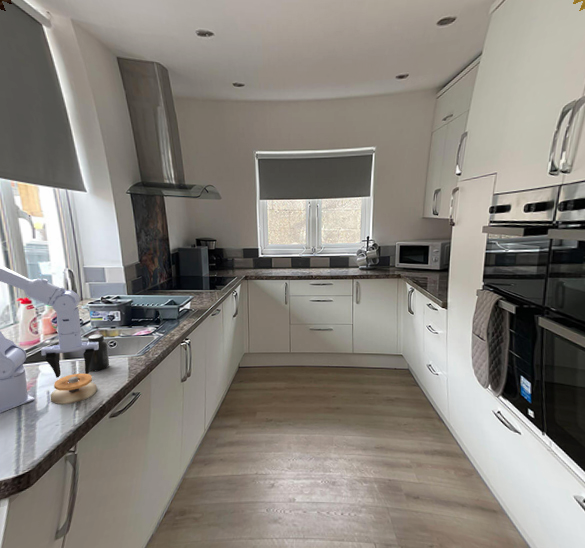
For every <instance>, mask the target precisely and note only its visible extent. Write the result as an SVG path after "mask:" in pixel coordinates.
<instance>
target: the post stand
mask: <svg viewBox="0 0 585 548" xmlns="http://www.w3.org/2000/svg"><path fill="white" fill-rule="evenodd" d="M78 381H79V380H78V377H71V378H69V382H68V383H75V382H78ZM97 390H98V386H97V384H95V382H93V381H91V382H90V383H89V384H88V385H86V386H83V387H81V388H78V389H73V390H68V391H67V390H57V389H55V390H54V391H52V393H51V394H50V401H51V402H52V403H54V404H57V405H68V404H74V403H78V402H81V401H84V400H87V399H89V398H91V397H92V396H94V395H95V394H96V393H97Z"/></svg>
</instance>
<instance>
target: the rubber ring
mask: <svg viewBox="0 0 585 548" xmlns="http://www.w3.org/2000/svg"><path fill="white" fill-rule="evenodd" d="M71 377H78V382H75V383H69V378H71ZM92 378H93V377H92V375H91V374H89V373H88V374H86V373H74V374H69V375H66V376H64V377H59V378H58V379H57V380H56V381H54V383H53V384H54V385H53V387H54V389H55V390H56V389H57V390H67V391H68V390H73V389H78V388H81V387H83V386H86V385H88V384H89V383H90V382H93V381H92V380H93V379H92Z"/></svg>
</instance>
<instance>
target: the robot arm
mask: <svg viewBox="0 0 585 548" xmlns="http://www.w3.org/2000/svg"><path fill="white" fill-rule="evenodd" d="M0 282H1V283H4V284H5V285H6V284H7V285H10V286H12V287H15V288H17V289H19V290H22V291H24V294H25V296H26V297H28V298H29V299H33V300H34V301H37V302H40V303H43V304H45V305H47V306H49V307H52V309H53V310H54V311H55V312H56V313H55V314H56V326H57V327H56V328H57V337H58V338H57V339H58V344H57V345H56V344H54V345H50V346H43V347H42V348H41V349H40V352H41V354H40V355H41V356H45V357H44V359H45V361H46V362H47V364H48V365H49V366H50V367H51V369H52V371H53V372H54V376H55V377H56V378H58V379H59V378H60V376H61V365H60V354H63V353H73V352H82V351H84V353H83V359H84V371H85V373H84V374H89V373H90V370H89V369H90V363H91V359H92V356H93V354H94V351H95V350H98V348H99V343H98V342H88V341H82V333H81V331H82V330H81V320H80V318H81V317H80V314H79V313H80V312H79V306H78V305H79V304H80V302H81V301H80V300H81V297H80V296H79V294H78V293H77V292H75V291H74V290H73V289H66V287H62V286H61V287H60V286H57V285H55V284H52V283H50V282H49V280H48V279H46V278H42V279H41V278H35V279H31V278H28V277H26V276H24V275H22V274H20V273H18V272H16V271H14V270H12V269H9V268H7V267H6V266H3V265H2V264H0ZM27 356H28V355H27V352H26V350H25V349H24V348H22V347H20V346H18V345H17V344H16V343H15V342H14V341H13V340H12V339H8V338H6V336H5V335H4V334H3V333H2V331H1V330H0V414H1V413H4V412H6V411H8V410H11V409H14V408H16V407H19V406H21V405H24V404H27V403H29V402H32V401H34V400H35V397H33V396H31V395H29V394H28V387H27V386H28V385H27V377H26V376H27V375H26V368H25V366H24V365H23V364H24V362H25V361H26V360H27Z"/></svg>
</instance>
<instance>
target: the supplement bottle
mask: <svg viewBox="0 0 585 548" xmlns="http://www.w3.org/2000/svg"><path fill="white" fill-rule="evenodd" d="M87 339H88V341H87V342H98V343H99V348H98V350H95V351H94V354H93V356H92V359H91V363H90V369H89V372H100V371H104V370H106V369H107V368H108V367H109V366H110V360H109V359H110V358H109V357H110V356H109V347H108V343H107V342H106V341H105V338H104V334H101V333H98V334H97V333H96V334H91V335H89V336H88V337H87Z"/></svg>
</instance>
